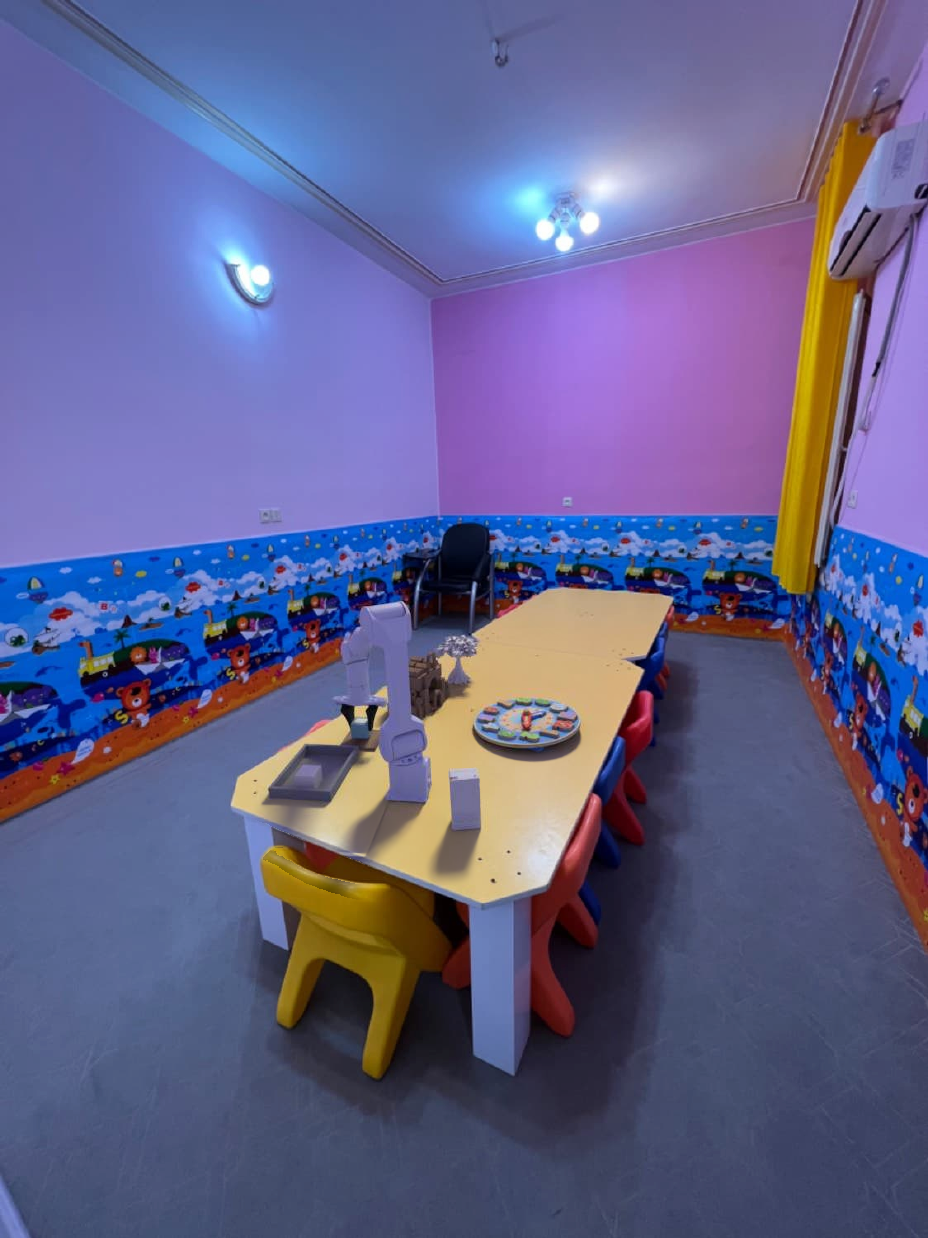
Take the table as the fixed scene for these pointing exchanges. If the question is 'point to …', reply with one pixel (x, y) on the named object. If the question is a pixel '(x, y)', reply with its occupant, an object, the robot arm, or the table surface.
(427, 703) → the brown wooden block structure
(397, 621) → the robot arm
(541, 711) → the shape sorting clock
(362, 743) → the pad
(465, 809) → the skincare box
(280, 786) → the bin
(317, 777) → the plain block
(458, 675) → the tree
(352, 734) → the labelled block
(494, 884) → the table surface
